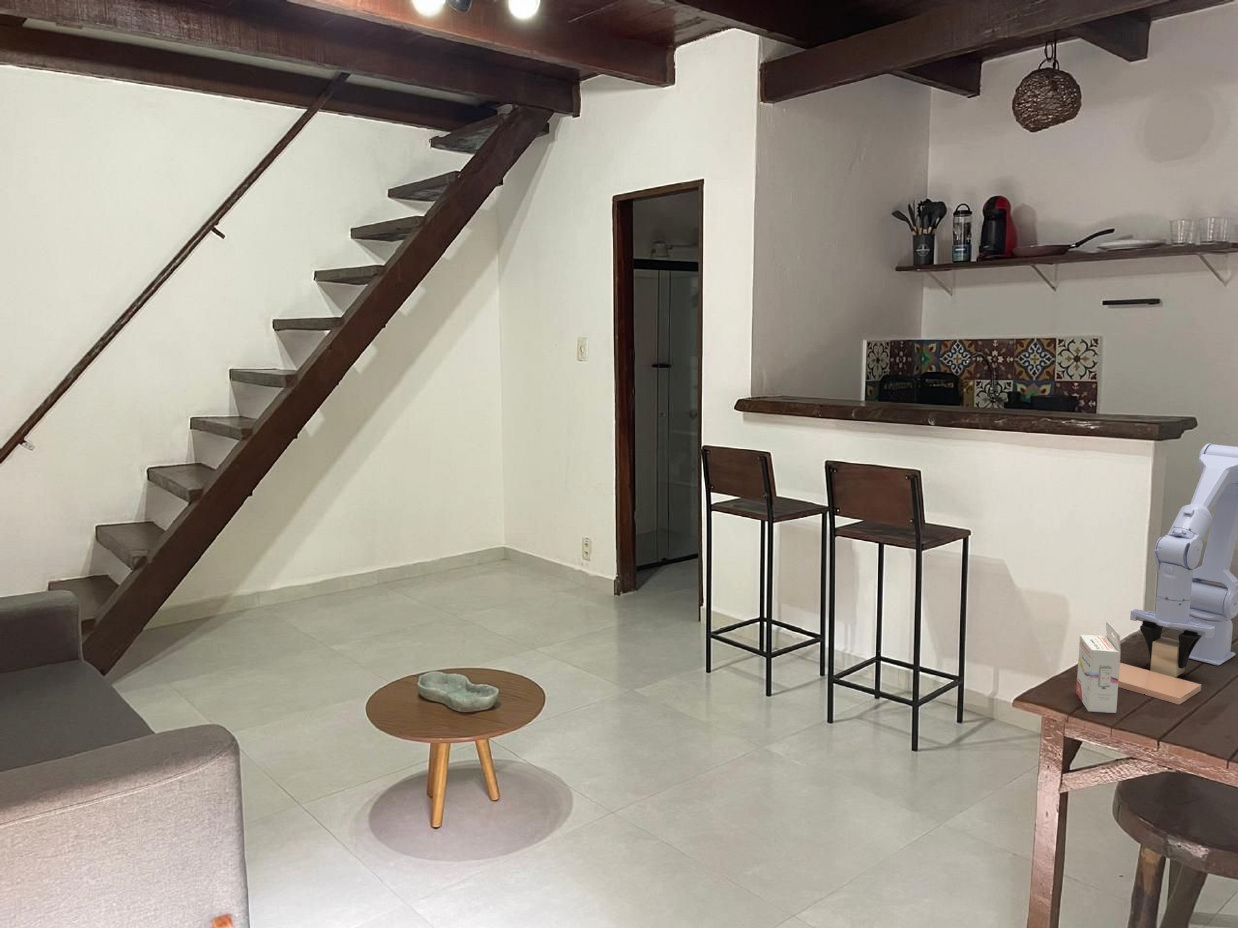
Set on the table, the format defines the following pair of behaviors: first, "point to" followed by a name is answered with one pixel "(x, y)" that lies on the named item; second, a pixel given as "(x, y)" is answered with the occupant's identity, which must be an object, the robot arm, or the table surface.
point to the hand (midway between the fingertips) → (1167, 663)
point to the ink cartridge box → (1099, 671)
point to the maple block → (1166, 657)
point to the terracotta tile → (1156, 684)
